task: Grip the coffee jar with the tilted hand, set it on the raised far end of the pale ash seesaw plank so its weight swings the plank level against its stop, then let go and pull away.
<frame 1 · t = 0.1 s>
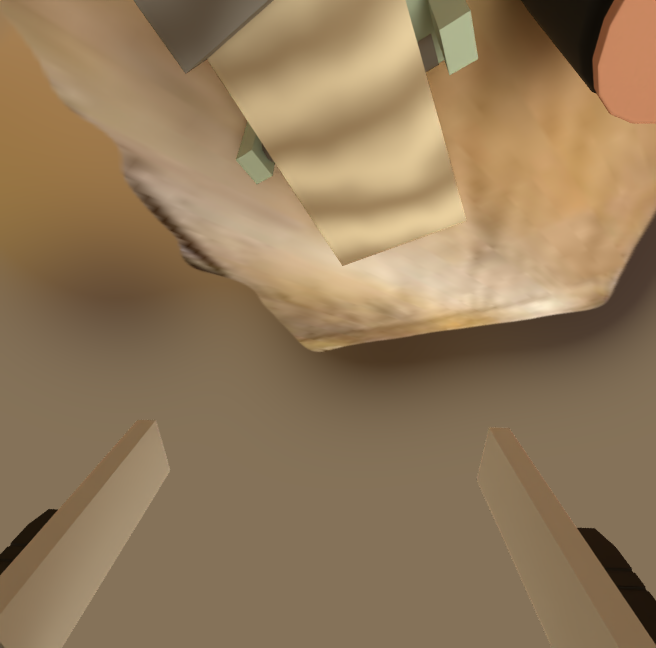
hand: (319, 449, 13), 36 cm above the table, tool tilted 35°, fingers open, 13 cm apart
seesaw stand: (341, 65, 32), on the table
seesaw plank: (340, 124, 26), point 11 cm above the table, hinge at -10.0°
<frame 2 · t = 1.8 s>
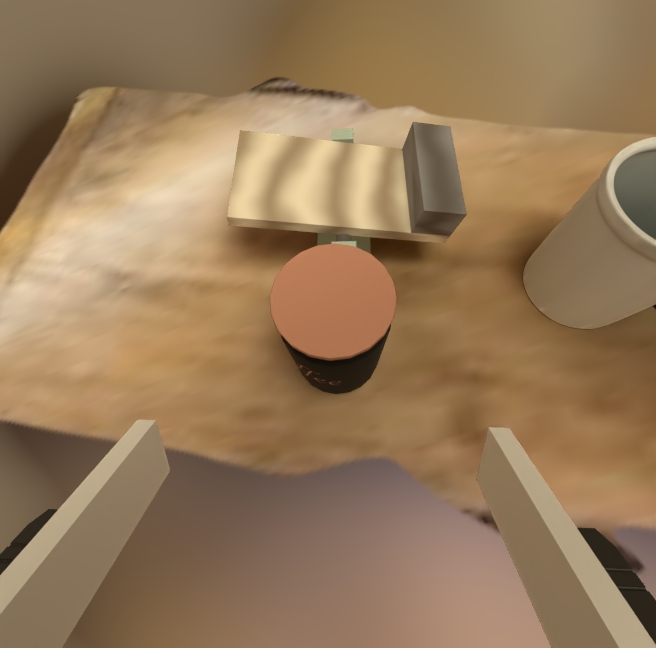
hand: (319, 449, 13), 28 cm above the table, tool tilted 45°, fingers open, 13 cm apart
coffee jar: (337, 355, 44), on the table
seesaw stand: (343, 232, 51), on the table
seesaw plank: (342, 179, 41), point 11 cm above the table, hinge at -10.0°
utensil holder: (570, 285, 46), on the table
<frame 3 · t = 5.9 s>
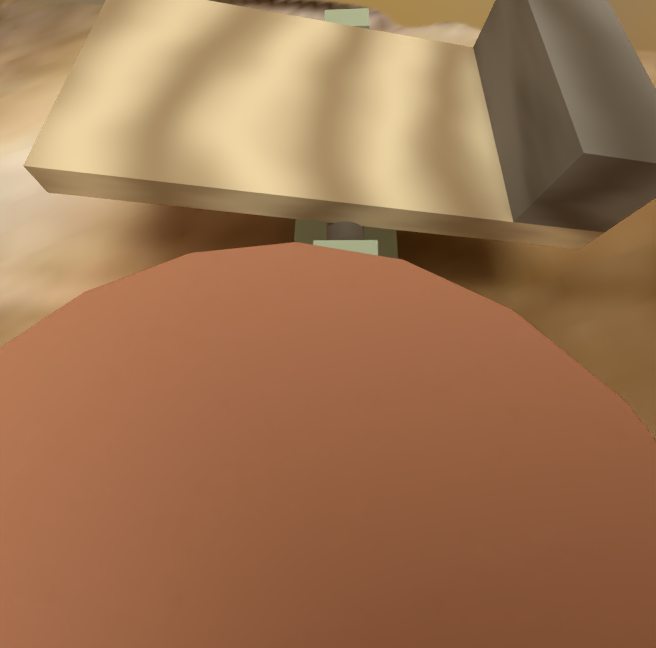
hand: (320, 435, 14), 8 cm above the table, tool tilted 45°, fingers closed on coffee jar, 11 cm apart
coffee jar: (327, 490, 20), on the table, touching gripper
seesaw stand: (345, 224, 27), on the table
seesaw plank: (345, 93, 17), point 11 cm above the table, hinge at -10.0°
when the fingers open (21 cm above the table, at t = 10.9 s): coffee jar drops 2 cm, resting on seesaw plank.
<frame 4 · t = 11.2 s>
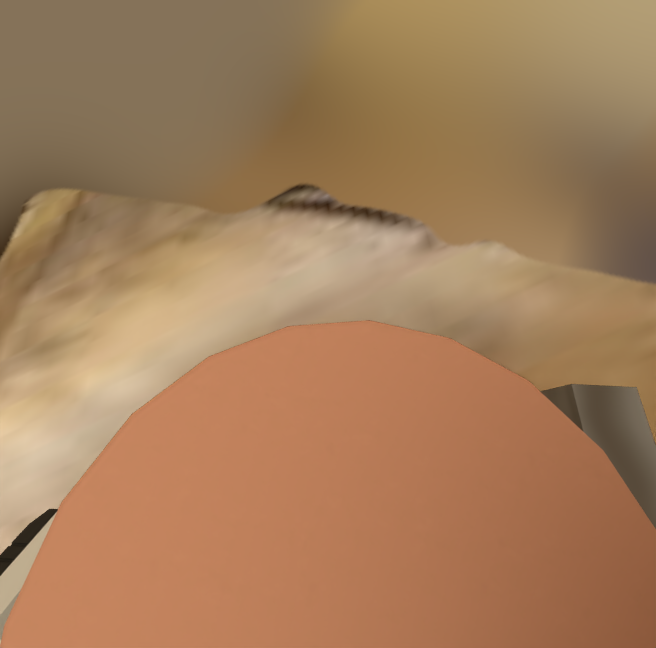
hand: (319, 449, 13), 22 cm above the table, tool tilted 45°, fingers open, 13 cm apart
coffee jar: (329, 489, 22), point 12 cm above the table, touching seesaw plank
seesaw plank: (441, 488, 22), point 11 cm above the table, hinge at -8.6°, touching coffee jar
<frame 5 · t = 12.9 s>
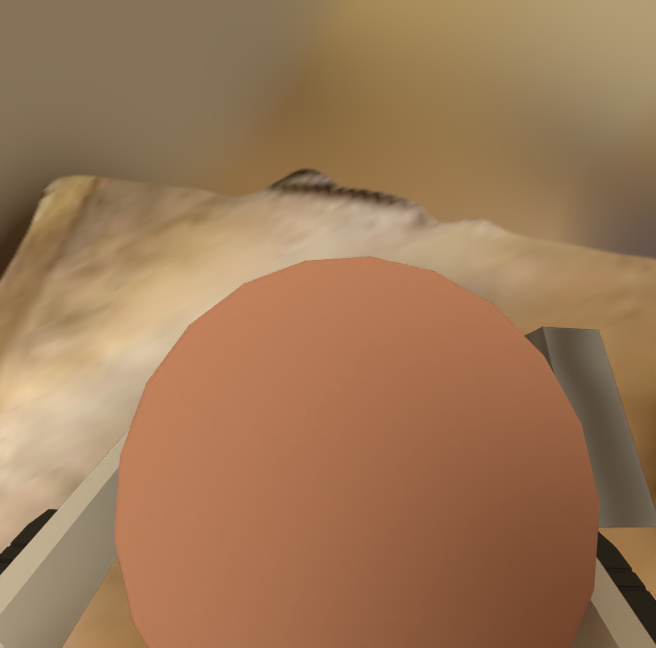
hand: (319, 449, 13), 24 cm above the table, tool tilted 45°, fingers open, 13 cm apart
coffee jar: (337, 419, 25), point 12 cm above the table, touching seesaw plank
seesaw plank: (432, 418, 26), point 11 cm above the table, hinge at -8.5°, touching coffee jar
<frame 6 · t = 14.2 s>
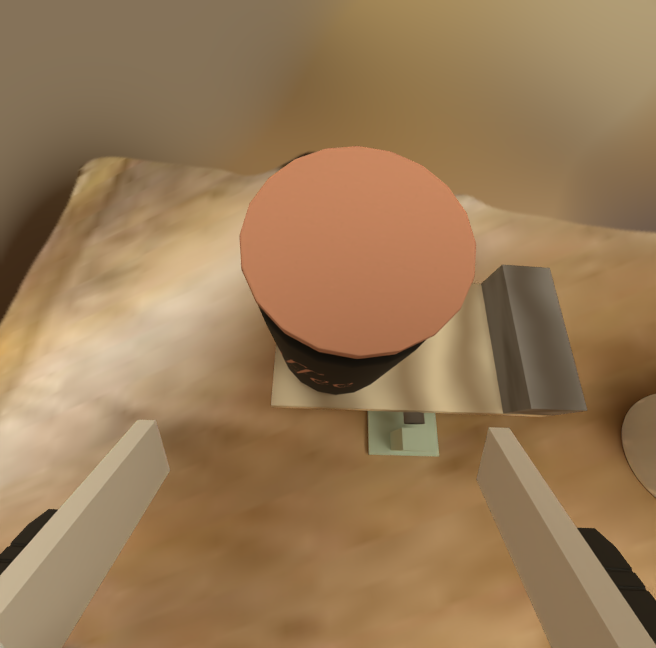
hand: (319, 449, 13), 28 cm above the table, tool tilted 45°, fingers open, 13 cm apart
coffee jar: (335, 341, 32), point 12 cm above the table, touching seesaw plank
seesaw stand: (397, 364, 42), on the table
seesaw plank: (412, 338, 32), point 11 cm above the table, hinge at -7.4°, touching coffee jar
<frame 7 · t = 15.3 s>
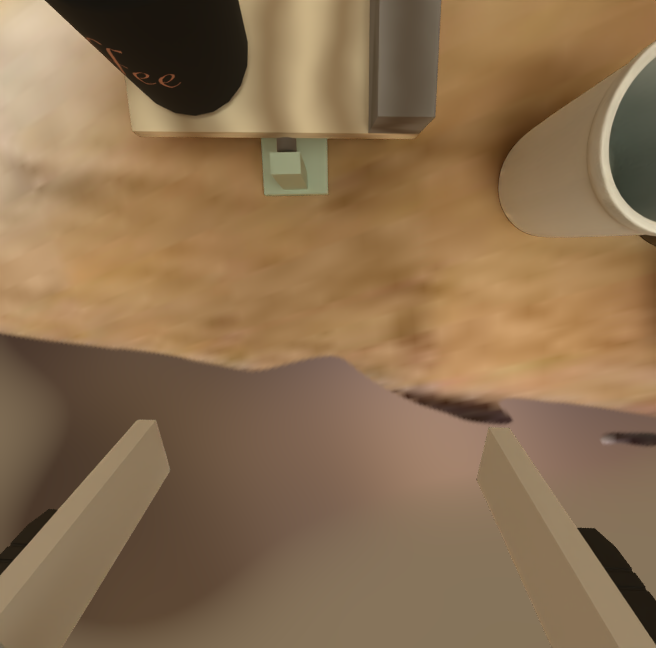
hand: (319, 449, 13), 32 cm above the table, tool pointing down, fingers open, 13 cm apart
coffee jar: (188, 52, 28), point 11 cm above the table, touching seesaw plank
seesaw stand: (293, 99, 39), on the table
seesaw plank: (275, 43, 29), point 11 cm above the table, hinge at -5.6°, touching coffee jar
utensil holder: (549, 182, 41), on the table
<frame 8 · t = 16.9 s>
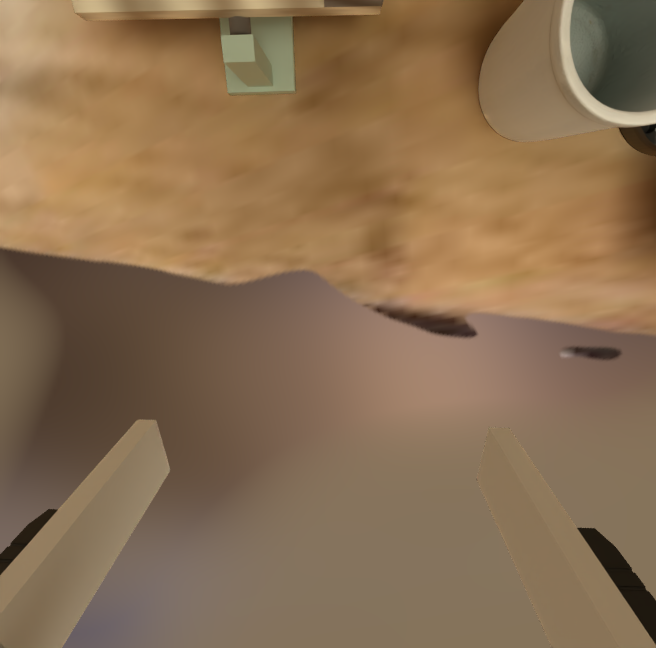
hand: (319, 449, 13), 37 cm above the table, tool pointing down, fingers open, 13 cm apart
utensil holder: (535, 76, 37), on the table
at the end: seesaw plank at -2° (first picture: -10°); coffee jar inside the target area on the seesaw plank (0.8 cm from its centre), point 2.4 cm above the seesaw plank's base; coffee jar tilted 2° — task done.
